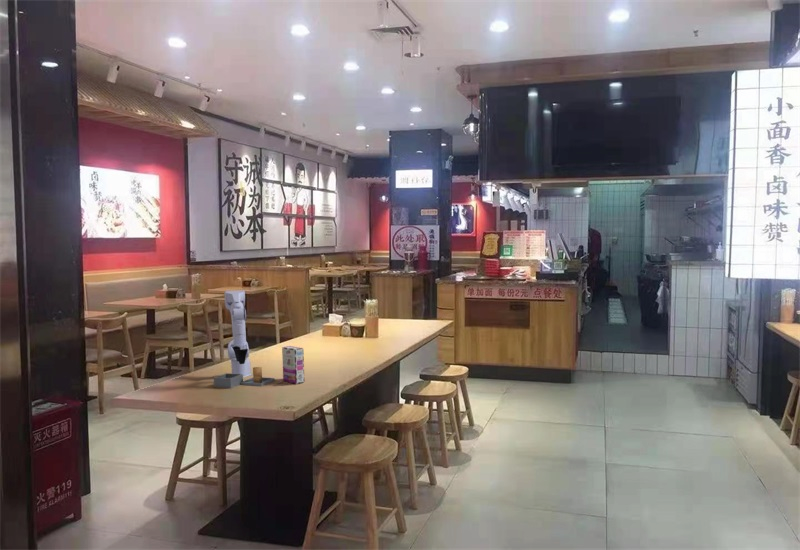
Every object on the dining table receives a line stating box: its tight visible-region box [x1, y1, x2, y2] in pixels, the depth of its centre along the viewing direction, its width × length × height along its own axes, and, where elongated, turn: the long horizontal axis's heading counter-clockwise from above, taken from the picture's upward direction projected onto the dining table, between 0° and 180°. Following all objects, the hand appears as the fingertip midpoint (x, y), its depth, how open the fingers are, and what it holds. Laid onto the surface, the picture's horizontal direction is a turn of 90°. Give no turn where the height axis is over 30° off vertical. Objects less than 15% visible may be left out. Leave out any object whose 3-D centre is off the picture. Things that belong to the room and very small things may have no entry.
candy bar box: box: [281, 345, 305, 385], centre depth 288 cm, size 11×5×16 cm, turn 45°
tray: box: [241, 376, 276, 387], centre depth 286 cm, size 11×11×2 cm
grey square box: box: [213, 372, 244, 389], centre depth 283 cm, size 9×9×5 cm
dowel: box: [252, 366, 263, 383], centre depth 286 cm, size 4×4×7 cm
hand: (240, 362), depth 288 cm, fingers open, 7 cm apart
